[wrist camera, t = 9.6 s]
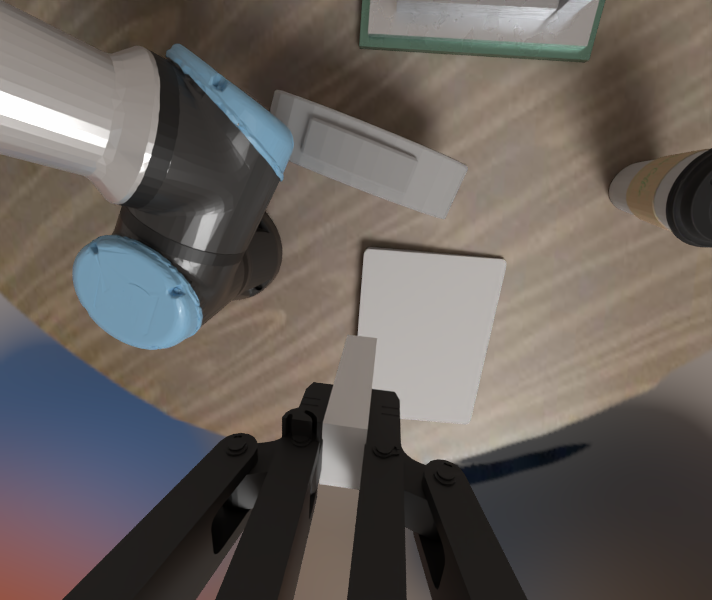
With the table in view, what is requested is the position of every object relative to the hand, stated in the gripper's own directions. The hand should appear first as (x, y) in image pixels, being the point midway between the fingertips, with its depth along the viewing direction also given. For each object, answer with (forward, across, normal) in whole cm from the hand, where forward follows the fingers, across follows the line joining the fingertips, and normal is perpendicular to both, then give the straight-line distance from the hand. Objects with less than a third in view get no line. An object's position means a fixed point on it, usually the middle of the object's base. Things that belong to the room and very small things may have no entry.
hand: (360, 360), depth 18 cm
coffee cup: (+35, +31, +9) cm, 47 cm away
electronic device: (+35, +8, -16) cm, 39 cm away
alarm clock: (+35, -3, +10) cm, 36 cm away
